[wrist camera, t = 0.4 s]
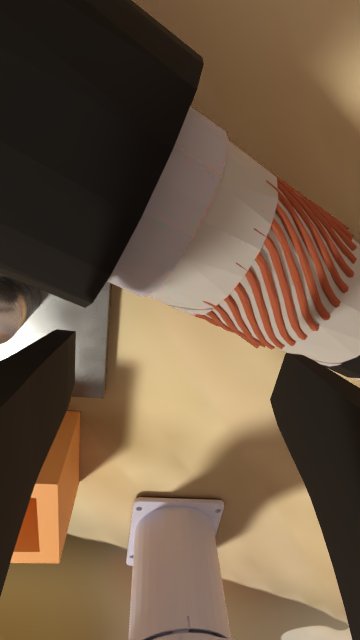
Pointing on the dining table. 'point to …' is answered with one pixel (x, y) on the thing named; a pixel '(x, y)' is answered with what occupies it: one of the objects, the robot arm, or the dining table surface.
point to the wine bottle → (156, 187)
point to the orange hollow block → (52, 498)
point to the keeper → (56, 313)
